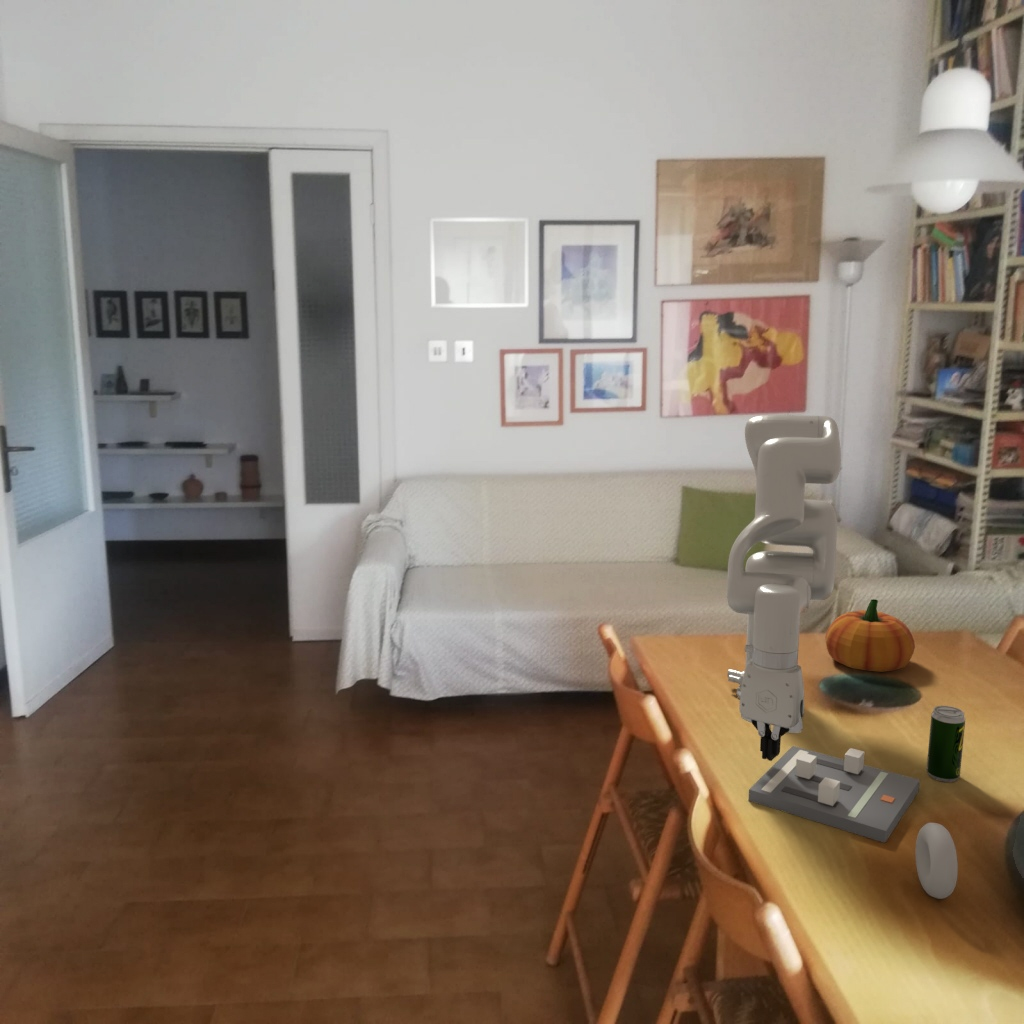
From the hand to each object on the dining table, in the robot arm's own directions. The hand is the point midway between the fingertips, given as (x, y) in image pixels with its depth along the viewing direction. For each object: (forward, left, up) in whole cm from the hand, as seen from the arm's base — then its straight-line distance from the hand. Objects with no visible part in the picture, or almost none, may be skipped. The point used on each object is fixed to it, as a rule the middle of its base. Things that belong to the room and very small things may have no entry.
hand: (769, 756), depth 164 cm
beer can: (+24, +18, -4) cm, 31 cm away
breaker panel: (+11, 0, -4) cm, 12 cm away
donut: (+31, -19, -4) cm, 37 cm away
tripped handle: (+6, 0, -1) cm, 6 cm away
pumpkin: (-3, +66, -4) cm, 66 cm away
